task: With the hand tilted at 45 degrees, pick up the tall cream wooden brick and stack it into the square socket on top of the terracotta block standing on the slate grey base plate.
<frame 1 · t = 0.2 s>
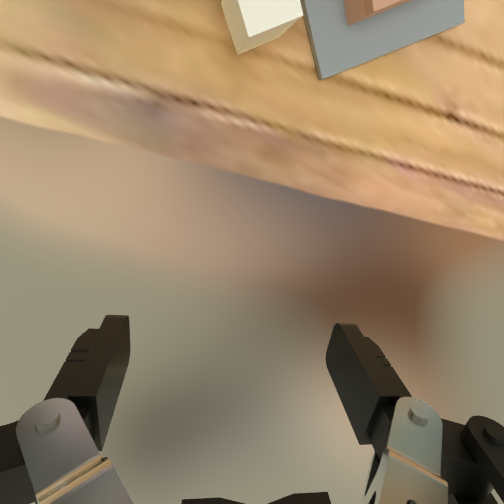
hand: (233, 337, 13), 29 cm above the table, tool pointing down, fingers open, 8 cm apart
tall brick: (250, 22, 33), on the table
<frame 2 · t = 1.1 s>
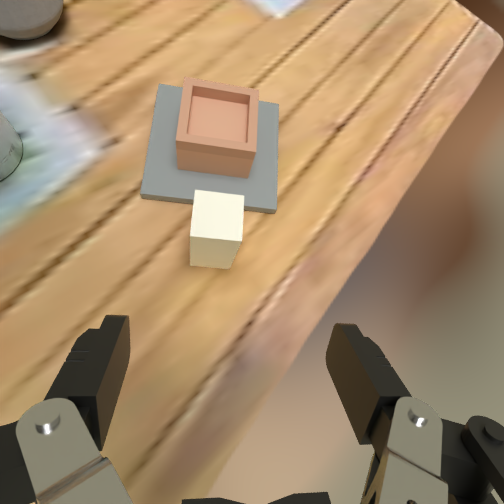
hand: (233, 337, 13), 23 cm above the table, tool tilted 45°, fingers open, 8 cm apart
tall brick: (211, 248, 38), on the table
tower base: (215, 150, 42), on the table
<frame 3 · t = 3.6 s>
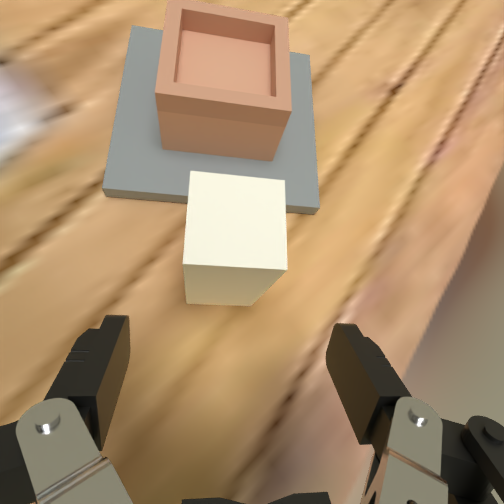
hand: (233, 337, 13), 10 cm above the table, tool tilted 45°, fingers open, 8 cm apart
tall brick: (220, 273, 23), on the table
tower base: (219, 122, 28), on the table
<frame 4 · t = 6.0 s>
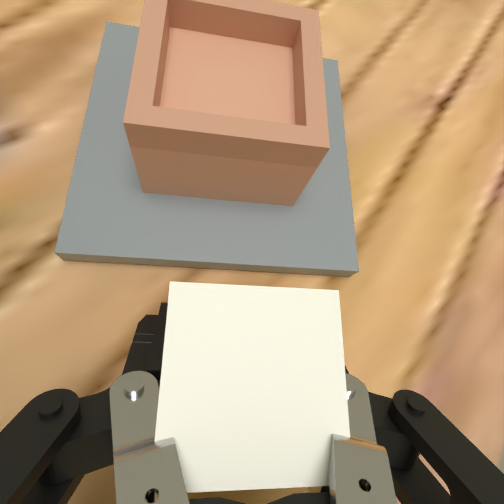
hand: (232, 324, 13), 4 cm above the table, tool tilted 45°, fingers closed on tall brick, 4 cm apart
tall brick: (222, 371, 17), on the table, touching gripper
tower base: (222, 149, 21), on the table
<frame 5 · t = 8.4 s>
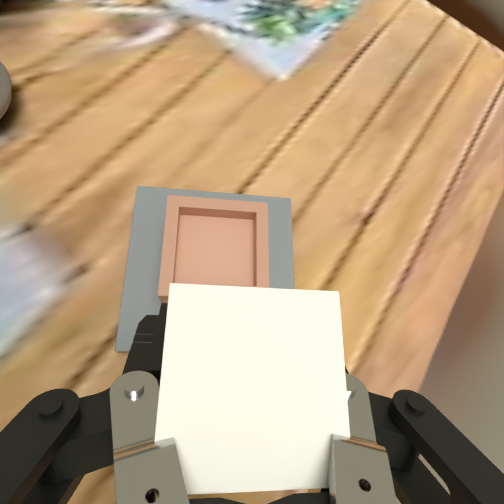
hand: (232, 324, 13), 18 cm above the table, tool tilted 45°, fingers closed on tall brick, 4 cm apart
tall brick: (222, 371, 17), point 14 cm above the table, touching gripper
tower base: (212, 268, 32), on the table
when the fingers open (10 cm above the table, at t = 11.3 s): tall brick drops 1 cm, resting on tower base.
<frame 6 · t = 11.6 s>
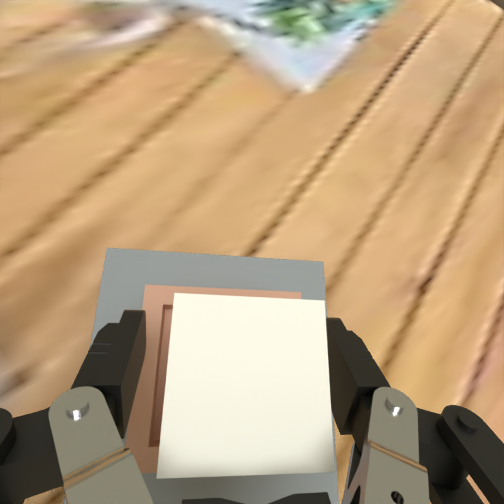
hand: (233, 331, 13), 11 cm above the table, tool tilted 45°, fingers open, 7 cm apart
tall brick: (221, 371, 18), point 5 cm above the table, touching tower base
tower base: (214, 369, 23), on the table
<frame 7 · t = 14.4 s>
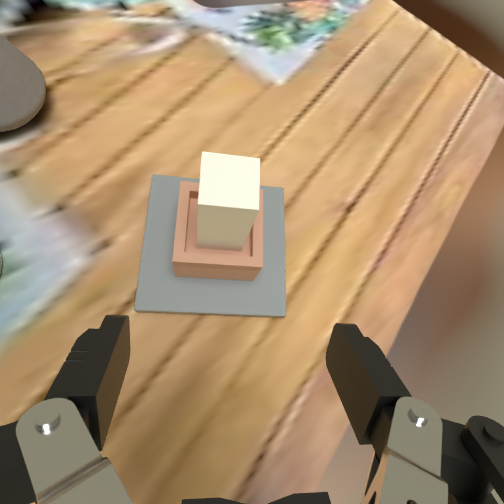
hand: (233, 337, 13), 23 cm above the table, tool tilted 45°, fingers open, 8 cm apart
tall brick: (220, 229, 33), point 5 cm above the table, touching tower base
tower base: (216, 246, 38), on the table
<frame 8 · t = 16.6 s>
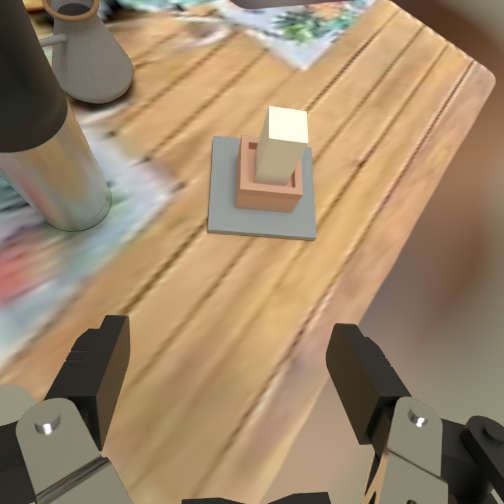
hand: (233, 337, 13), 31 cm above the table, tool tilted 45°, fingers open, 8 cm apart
coffee pot: (79, 105, 50), on the table
tall brick: (269, 170, 46), point 5 cm above the table, touching tower base
tower base: (262, 189, 51), on the table
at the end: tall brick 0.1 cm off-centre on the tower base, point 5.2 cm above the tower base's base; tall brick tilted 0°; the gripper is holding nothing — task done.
